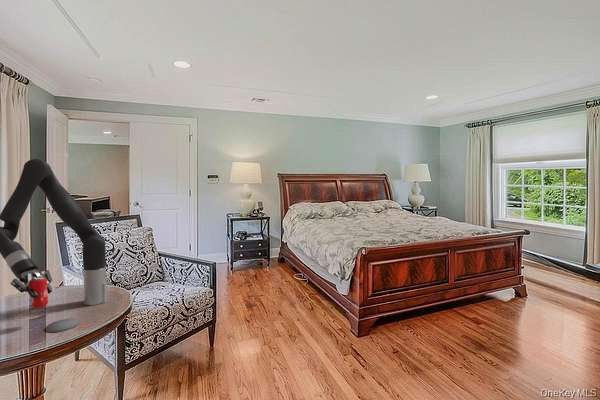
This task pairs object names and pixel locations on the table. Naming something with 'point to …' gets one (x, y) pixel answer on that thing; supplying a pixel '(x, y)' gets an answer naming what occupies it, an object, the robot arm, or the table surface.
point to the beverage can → (40, 291)
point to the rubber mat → (62, 325)
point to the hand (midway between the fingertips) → (43, 294)
